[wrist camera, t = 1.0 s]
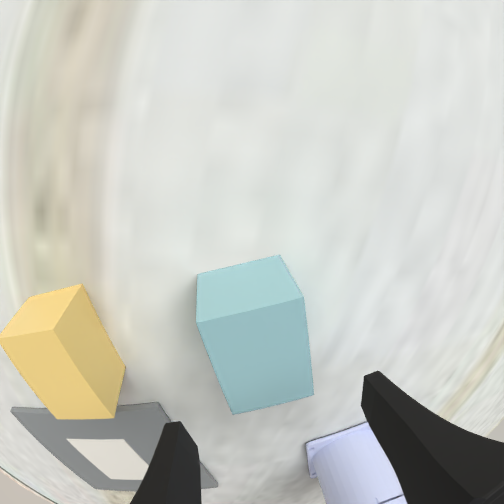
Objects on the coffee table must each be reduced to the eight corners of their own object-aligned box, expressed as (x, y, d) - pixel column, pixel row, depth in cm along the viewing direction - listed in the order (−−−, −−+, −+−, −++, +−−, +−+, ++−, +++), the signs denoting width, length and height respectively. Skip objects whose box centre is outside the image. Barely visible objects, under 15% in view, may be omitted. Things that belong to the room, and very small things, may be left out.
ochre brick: (126, 365, 18) (114, 418, 13) (74, 372, 17) (56, 419, 13) (83, 282, 15) (53, 329, 11) (30, 296, 15) (-4, 338, 11)
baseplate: (217, 482, 25) (218, 487, 25) (95, 485, 24) (95, 489, 24) (158, 402, 19) (157, 409, 18) (12, 406, 18) (10, 412, 17)
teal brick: (293, 343, 19) (314, 394, 14) (226, 360, 18) (232, 414, 14) (279, 253, 16) (303, 296, 12) (197, 272, 16) (196, 322, 12)
